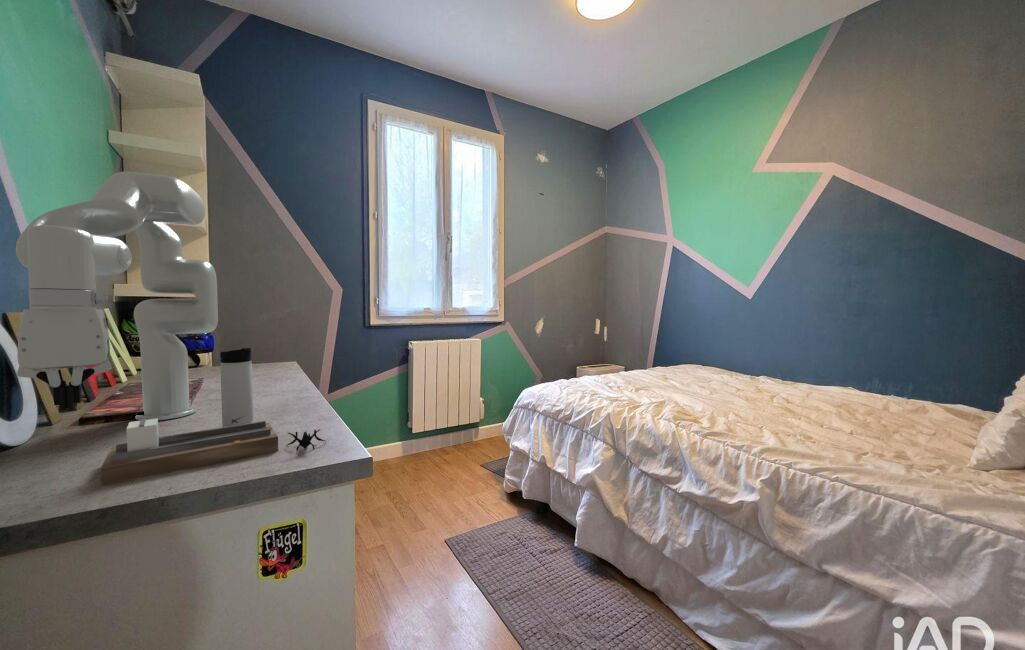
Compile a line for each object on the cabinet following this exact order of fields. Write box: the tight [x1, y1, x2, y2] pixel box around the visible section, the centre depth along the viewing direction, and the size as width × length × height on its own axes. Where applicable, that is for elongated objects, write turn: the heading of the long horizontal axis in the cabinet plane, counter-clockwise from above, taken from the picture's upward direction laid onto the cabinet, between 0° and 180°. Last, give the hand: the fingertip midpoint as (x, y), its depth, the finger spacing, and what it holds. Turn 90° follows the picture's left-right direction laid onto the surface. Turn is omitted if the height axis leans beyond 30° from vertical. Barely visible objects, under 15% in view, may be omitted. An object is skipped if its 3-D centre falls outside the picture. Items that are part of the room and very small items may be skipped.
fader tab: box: [126, 418, 160, 452], centre depth 74 cm, size 5×4×5 cm
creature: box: [285, 423, 326, 452], centre depth 86 cm, size 8×5×8 cm
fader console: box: [100, 420, 279, 486], centre depth 80 cm, size 12×26×4 cm, turn 129°
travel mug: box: [219, 347, 254, 428], centre depth 97 cm, size 6×7×20 cm
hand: (68, 408), depth 68 cm, fingers closed
